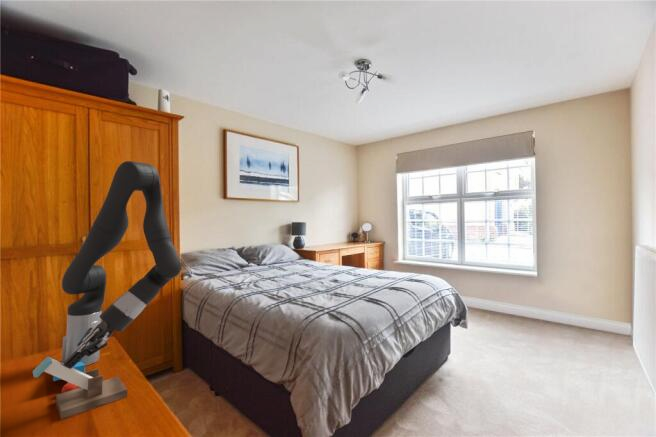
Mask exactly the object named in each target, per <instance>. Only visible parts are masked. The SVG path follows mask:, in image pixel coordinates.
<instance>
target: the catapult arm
mask: <svg viewBox="0 0 656 437" xmlns="http://www.w3.org/2000/svg"><path fill="white" fill-rule="evenodd" d="M43 373H47V374H48V375H51V376H52V377H53V376H56V377H58V378H60V380H63V381H65V382H67V383H68V382H70V383H72V384H74V385H77V387H79V388H84V389H86V390H88V379H90V378H93V377H91V376H89V375H87V374H85V373H83V372H80V371H78V370H76V369H74V368H71V369H70V368H67V367H66V366H64V364H63V363H62V361H61V362H60V361H59V360H57V359H54V358H52V357H50V356H49V355H47V356H46V357H45V358H44V359H43V360H42V361H41V362H40V363H39V365H38V366H36V367H35V369H34V370H32V375H33V376H32V377H34V378H36V379H37V378H39V377H40V376H41V375H42V374H43Z"/></svg>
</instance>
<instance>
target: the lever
mask: <svg viewBox="0 0 656 437" xmlns="http://www.w3.org/2000/svg"><path fill="white" fill-rule="evenodd" d="M73 368H74V369H76V370H78V371H80V372H83V373H85V372H86V366H85V364H83V363H82V362H78V363H77V364H76V365H75V366H74V367H73ZM52 380H53V382H56V381H59V380H61V379H60V378H58V377H56V376H53V375H52ZM74 389H78V386H77V385H74V384H72V383H70V382H67V383H66V384H64V385H63V386H62V388H61V393H64V392H68V391H71V390H74Z"/></svg>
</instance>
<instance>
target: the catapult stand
mask: <svg viewBox="0 0 656 437" xmlns="http://www.w3.org/2000/svg"><path fill="white" fill-rule="evenodd" d="M85 374H87V375H89V376H91V377H93V378H90V379H88V390H86V389H84V388H81V387H79V388H78V387H77V389H74V390H71V391H68V392H64V393H62V392H61V393H58V394H56V395H55V397H56V398H55V403H56V408H57V410H58V414H59V417H60V420H64V419H67V418H70V417H73V416H75V415H78V414H81V413H83V412H88V411H89V410H93V409H95V408H98V407H101V406H104V405H107V404H109V403H112V402H116V401H118V400H121V399H124V398H127V397H128V388H127V387H126V386H125V384H124V382H123V380H121V379H120V376H115V377H112V378H109V379H105V380H104V376H103V374H101V375H99V368H94V369H91V370H87V371H86V370H85Z"/></svg>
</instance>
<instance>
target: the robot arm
mask: <svg viewBox="0 0 656 437" xmlns="http://www.w3.org/2000/svg"><path fill="white" fill-rule="evenodd" d="M137 191H138V192H142V195H143V197H144V201H145V214H144V217H143V222H142V229H143V234H144V237H145V240H146V244H147V247H148V249H149V251H150V252H151V254H152V256H153V260H154V263H155V265H153V267H152V268H151V269H149V271H148V272H147V273H146V274H145V275H144V276H143V277H141V279H138V281H136V282H135V283H134V284H133V285H132V286H131V287H130V288H128V290H127V291H126V292H124V293H122V294H121V295H120V296H119V297H118V298H117V299H115V300H114V301H113V302H112V303H111V304H110V305H109V306H108V307H107V308H106V309H105V310H104V311H103V312H102V309H103V304H104V302H105V298H106V297H105V295H106V288H107V287H106V286H107V273H106V270H105V268H104V267H103V266H102V265H100V264H99V265H98V264H96V263H97V262H98V261H99V260H101V259H102V258H103V257H104V256H106V255H108V253H110V252H111V251H113V250H114V249H115V248H116V247H117V246H118V245H119V244H120V242H122V240H123V238H124V236H125V234H126V232H127V230H128V228H129V216H128V212H127V205H128V203H129V200H130V198H131V196H132V195H133V193H134V192H137ZM164 208H165V207H164V200H163V194H162V184H161V178H160V174H159V171H158V169H157V168H156V167H155V166H154V165H153V164H150V163H146V162H145V163H144V162H139V161H133V160H127V161H123V162H122V163H120V164H119V165H118V167H117V169H116V170H115V173H114V175H113V176H112V181H111V184H110V187H109V190H108V192H107V194H106V197H105V199H104V202H103V203H102V206H101V208H100V210H99V212H98V214H97V216H96V217H95V219H94V221H93V223H92V225H91V227H90V228H89V231H88V234H87V236H86V238H85V240H84V242H83V243H82V245H81V247H80V249H79V251H78V252H77V254H76V255H75V257H74V258H73V260H72V261H71V263H70V264H69V266H68V267H67V269H66V270H65V272H64V274H63V276H62V281H61V288H62V290H63V292H64V293H65V294H68V295H72V296H73V295H74V296H75V295H81V294H83V295H82V296H80V298H79V299H77V300H76V301H74V302H72V303H71V304H69V306H68V307H67V317H66V335H65V336H63V337H62V348H61V349H62V351H61V353H62V354H61V363H63V364H64V366H66V367H67V368H70V369H71V368H73V367H74V366H75V365H76V364H77V363H78V362H82V363H83V364H85V367H86V366H89V365H92V364H94V363H97V362H98V361H99V360H100V350H102V349H103V348H105V347H107V345H108V344H109V342H108V341H107V340H109V339H110V338H111V336H112V334H113V333H115V331H118V332H119V333H120V332H123V331H124V330H125V329H126V328H127V327H128V326H130V324H131V323H132V322H133V321H134V320H135V319H136V318H137V317H138V316H139V315H140V314H141V312H143V311H144V309H145V308H146V306H147V305H149V304H150V303H151V301H153V300H154V299H155V298H156V297H157V295H158V294H159V292H160V291H161V289H163V287H165V286H166V284H168V283H169V282H170V281H171V280H172V279H174V278H176V277H177V276H178V275H179V274H181V271H182V262H181V259H180V257H179V254H178V251H177V250H176V247H175V246H174V244H173V239H172V236H171V232H170V229H169V226H168V222H167V219H166V214H165V209H164Z"/></svg>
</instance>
